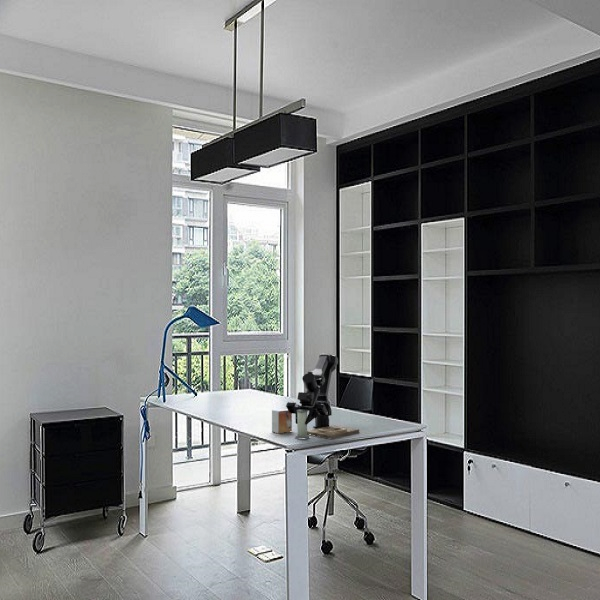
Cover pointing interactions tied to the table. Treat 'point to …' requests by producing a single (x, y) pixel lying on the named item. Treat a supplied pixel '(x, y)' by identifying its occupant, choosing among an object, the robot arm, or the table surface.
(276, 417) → the small box
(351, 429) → the notched board
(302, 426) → the bobbin
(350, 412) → the table surface
